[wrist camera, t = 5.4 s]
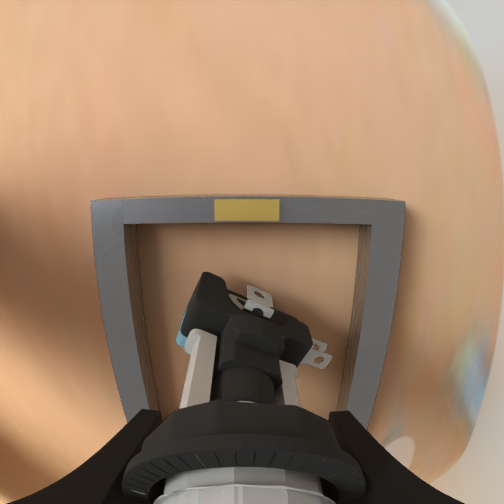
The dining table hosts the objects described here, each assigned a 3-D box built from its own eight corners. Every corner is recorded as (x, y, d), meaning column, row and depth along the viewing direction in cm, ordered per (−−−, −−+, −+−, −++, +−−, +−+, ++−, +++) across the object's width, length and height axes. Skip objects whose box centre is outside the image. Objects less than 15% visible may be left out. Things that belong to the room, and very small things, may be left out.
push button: (351, 299, 14) (462, 493, 4) (292, 383, 15) (325, 571, 6) (210, 235, 13) (138, 463, 3) (165, 337, 14) (101, 541, 5)
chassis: (142, 434, 17) (135, 453, 15) (105, 198, 13) (87, 201, 12) (353, 435, 17) (361, 454, 15) (390, 198, 14) (408, 202, 12)
